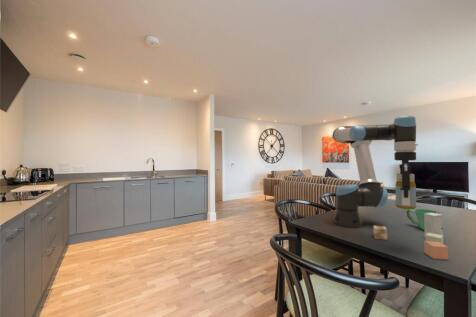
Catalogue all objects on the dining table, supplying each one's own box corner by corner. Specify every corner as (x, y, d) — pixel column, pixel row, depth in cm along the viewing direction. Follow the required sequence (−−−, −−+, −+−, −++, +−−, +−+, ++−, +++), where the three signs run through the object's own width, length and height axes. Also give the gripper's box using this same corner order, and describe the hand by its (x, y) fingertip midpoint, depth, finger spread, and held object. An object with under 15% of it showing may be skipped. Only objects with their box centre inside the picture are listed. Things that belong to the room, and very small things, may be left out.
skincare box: (434, 241, 98) (433, 215, 98) (423, 237, 102) (423, 213, 102) (444, 239, 99) (443, 214, 99) (433, 236, 104) (433, 212, 104)
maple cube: (374, 238, 103) (374, 228, 103) (373, 235, 107) (373, 225, 107) (387, 240, 101) (387, 229, 101) (385, 236, 105) (385, 226, 105)
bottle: (391, 206, 96) (391, 173, 96) (405, 205, 96) (405, 173, 96) (405, 210, 89) (404, 175, 89) (420, 209, 89) (420, 174, 89)
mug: (443, 231, 110) (443, 212, 110) (432, 234, 107) (432, 214, 107) (412, 223, 124) (412, 206, 124) (401, 225, 121) (401, 208, 121)
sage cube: (425, 246, 93) (425, 235, 93) (428, 243, 96) (428, 232, 96) (441, 250, 89) (441, 238, 89) (443, 246, 92) (443, 235, 92)
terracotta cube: (433, 258, 82) (433, 246, 82) (424, 253, 87) (424, 241, 87) (448, 259, 81) (448, 247, 81) (438, 254, 86) (438, 241, 86)
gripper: (418, 151, 83) (418, 209, 83) (414, 151, 98) (414, 200, 98) (394, 151, 87) (395, 206, 87) (394, 151, 102) (394, 199, 102)
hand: (405, 203), depth 93 cm, fingers closed on bottle, 6 cm apart
